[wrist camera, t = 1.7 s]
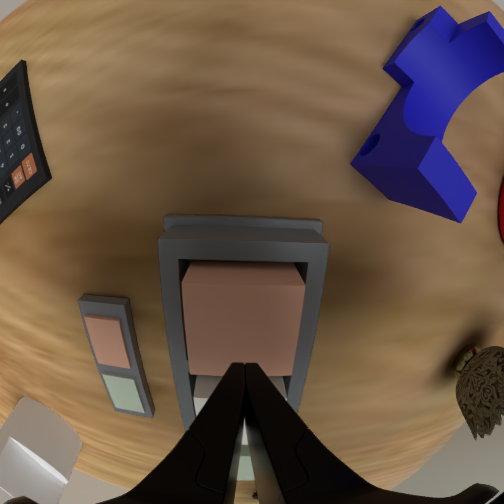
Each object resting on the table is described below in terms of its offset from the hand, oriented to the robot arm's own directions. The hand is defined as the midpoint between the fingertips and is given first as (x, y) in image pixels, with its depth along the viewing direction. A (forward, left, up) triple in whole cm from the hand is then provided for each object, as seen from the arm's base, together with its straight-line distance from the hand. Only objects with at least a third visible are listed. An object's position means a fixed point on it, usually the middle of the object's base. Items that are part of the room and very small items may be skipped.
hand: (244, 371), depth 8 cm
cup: (+7, -21, -7) cm, 23 cm away
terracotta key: (0, 0, -4) cm, 4 cm away
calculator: (-6, +19, -7) cm, 21 cm away
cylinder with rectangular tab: (-29, +4, -7) cm, 30 cm away
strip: (-10, +2, -6) cm, 12 cm away
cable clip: (+15, +1, -7) cm, 16 cm away
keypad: (-4, -4, -6) cm, 9 cm away
